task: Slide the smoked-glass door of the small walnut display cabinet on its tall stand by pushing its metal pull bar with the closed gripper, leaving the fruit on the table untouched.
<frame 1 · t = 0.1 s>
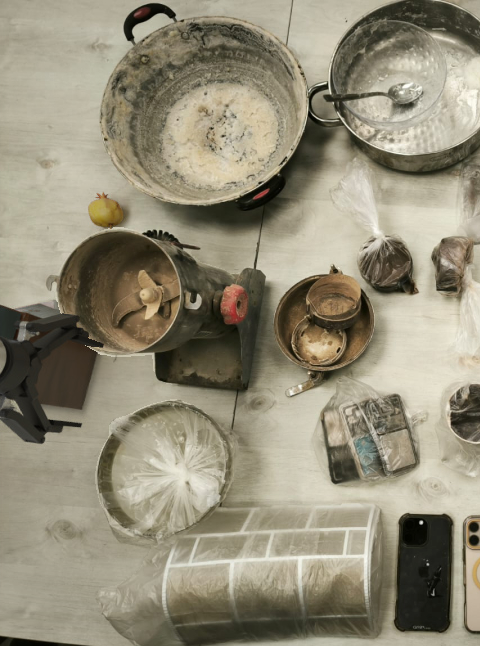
hand: (85, 384, 92), 29 cm above the table, tool pointing down, fingers open, 13 cm apart
fruit: (113, 219, 130), on the table
ink box: (45, 316, 124), on the table
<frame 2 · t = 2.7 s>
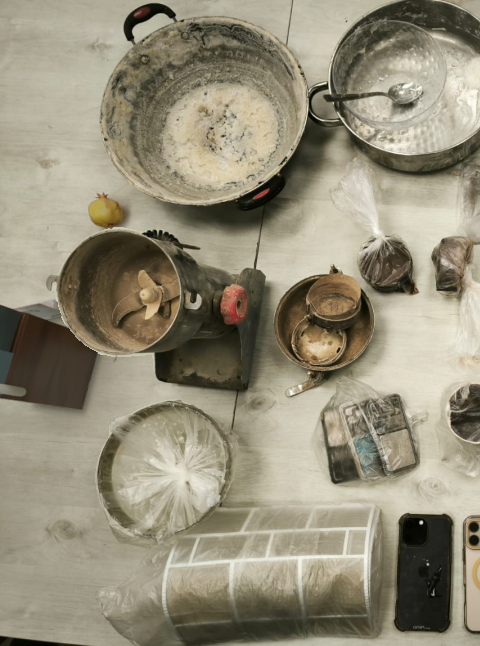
nothing on the table moved.
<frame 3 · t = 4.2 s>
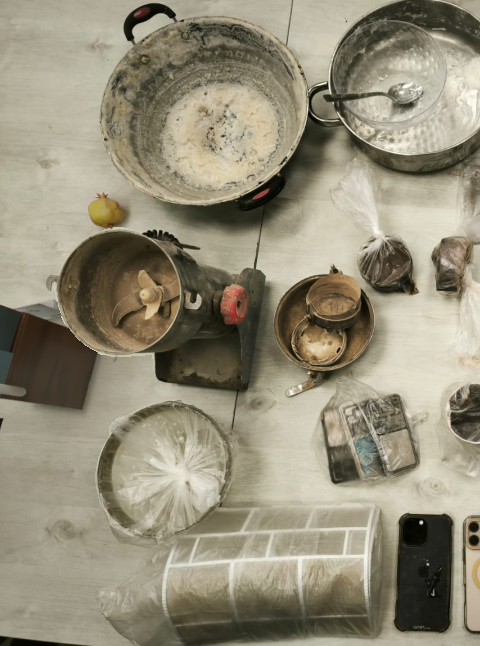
nothing on the table moved.
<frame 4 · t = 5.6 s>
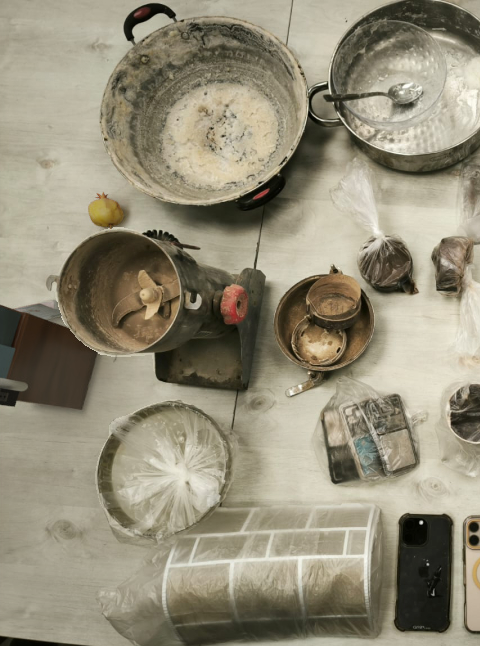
hand: (12, 398, 93), 27 cm above the table, tool pointing down, fingers closed
door: (1, 366, 93), point 28 cm above the table, slide at 0.9 cm, touching gripper
everything else where it was.
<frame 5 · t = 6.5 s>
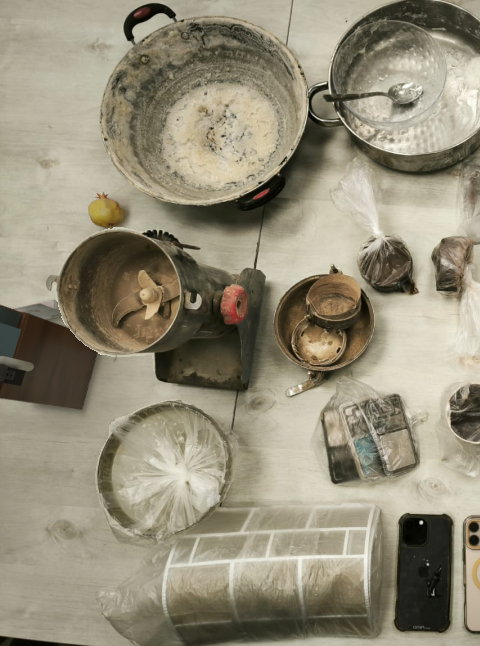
hand: (19, 377, 94), 27 cm above the table, tool pointing down, fingers closed
door: (7, 346, 94), point 28 cm above the table, slide at 4.5 cm, touching gripper
everything else where it was.
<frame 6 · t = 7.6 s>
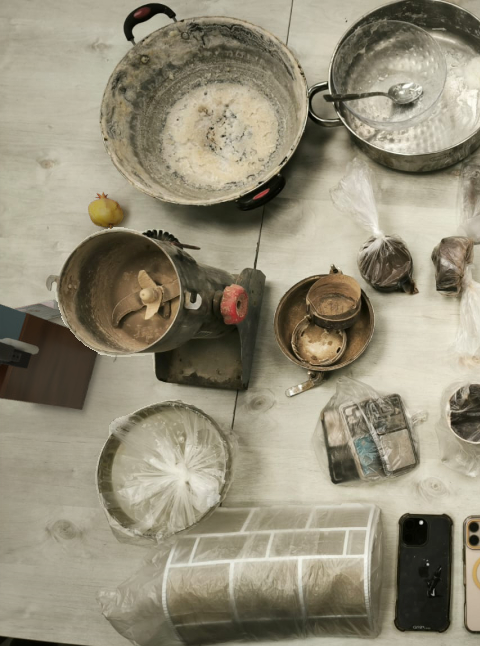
hand: (24, 360, 94), 28 cm above the table, tool pointing down, fingers closed
door: (13, 329, 95), point 28 cm above the table, slide at 7.6 cm, touching gripper
everything else where it was.
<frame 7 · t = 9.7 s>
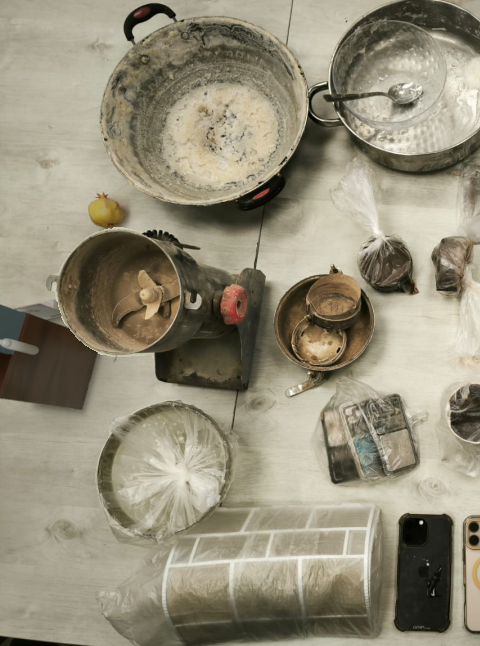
door: (13, 329, 95), point 28 cm above the table, slide at 7.5 cm
everything else where it was.
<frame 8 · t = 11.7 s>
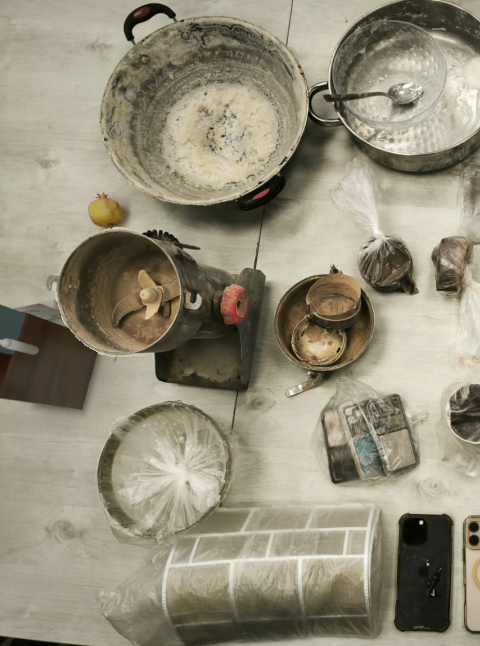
nothing on the table moved.
at the end: door slide at 7.5 cm; fruit moved 0.2 cm from its start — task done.
